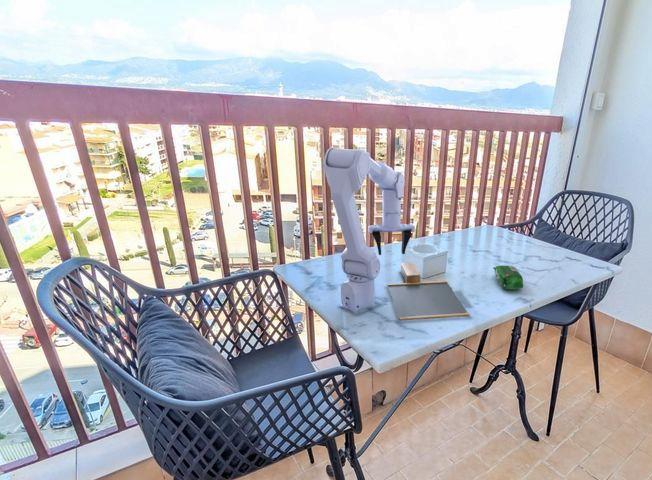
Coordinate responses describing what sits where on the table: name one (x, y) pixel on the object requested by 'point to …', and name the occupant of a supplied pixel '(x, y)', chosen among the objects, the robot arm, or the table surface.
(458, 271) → the table surface
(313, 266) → the table surface
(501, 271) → the snack package
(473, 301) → the table surface
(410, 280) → the eraser
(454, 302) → the slate board
